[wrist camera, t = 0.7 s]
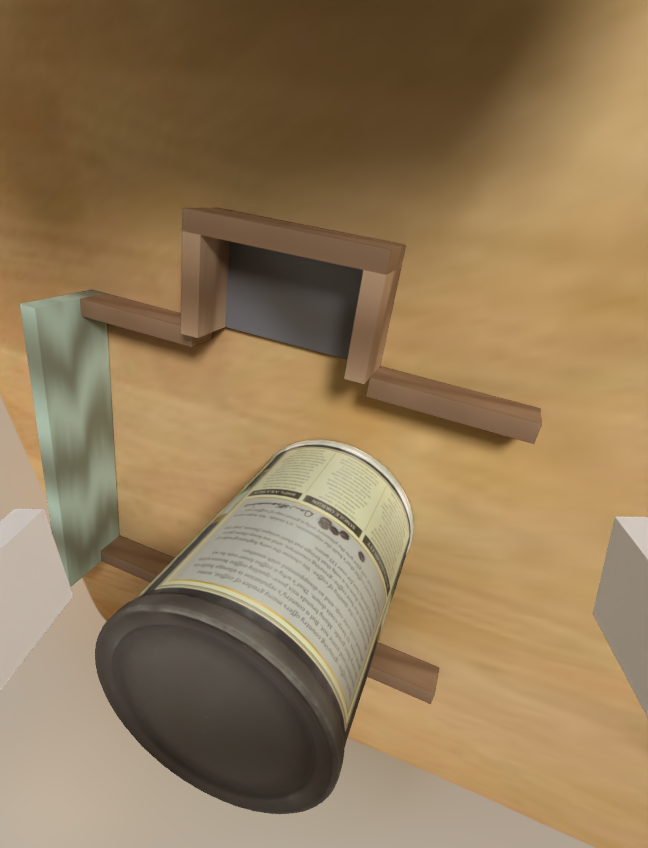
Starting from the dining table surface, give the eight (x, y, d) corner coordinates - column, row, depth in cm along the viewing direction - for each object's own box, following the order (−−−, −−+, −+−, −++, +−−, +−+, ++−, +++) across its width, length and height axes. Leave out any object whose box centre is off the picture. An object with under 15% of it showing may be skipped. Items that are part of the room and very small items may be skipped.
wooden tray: (84, 181, 27) (2, 177, 23) (590, 281, 20) (608, 301, 16) (113, 594, 42) (66, 639, 37) (414, 731, 35) (399, 804, 31)
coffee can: (413, 596, 30) (342, 854, 18) (265, 563, 34) (122, 762, 22) (419, 447, 26) (332, 653, 14) (250, 427, 30) (64, 579, 18)
